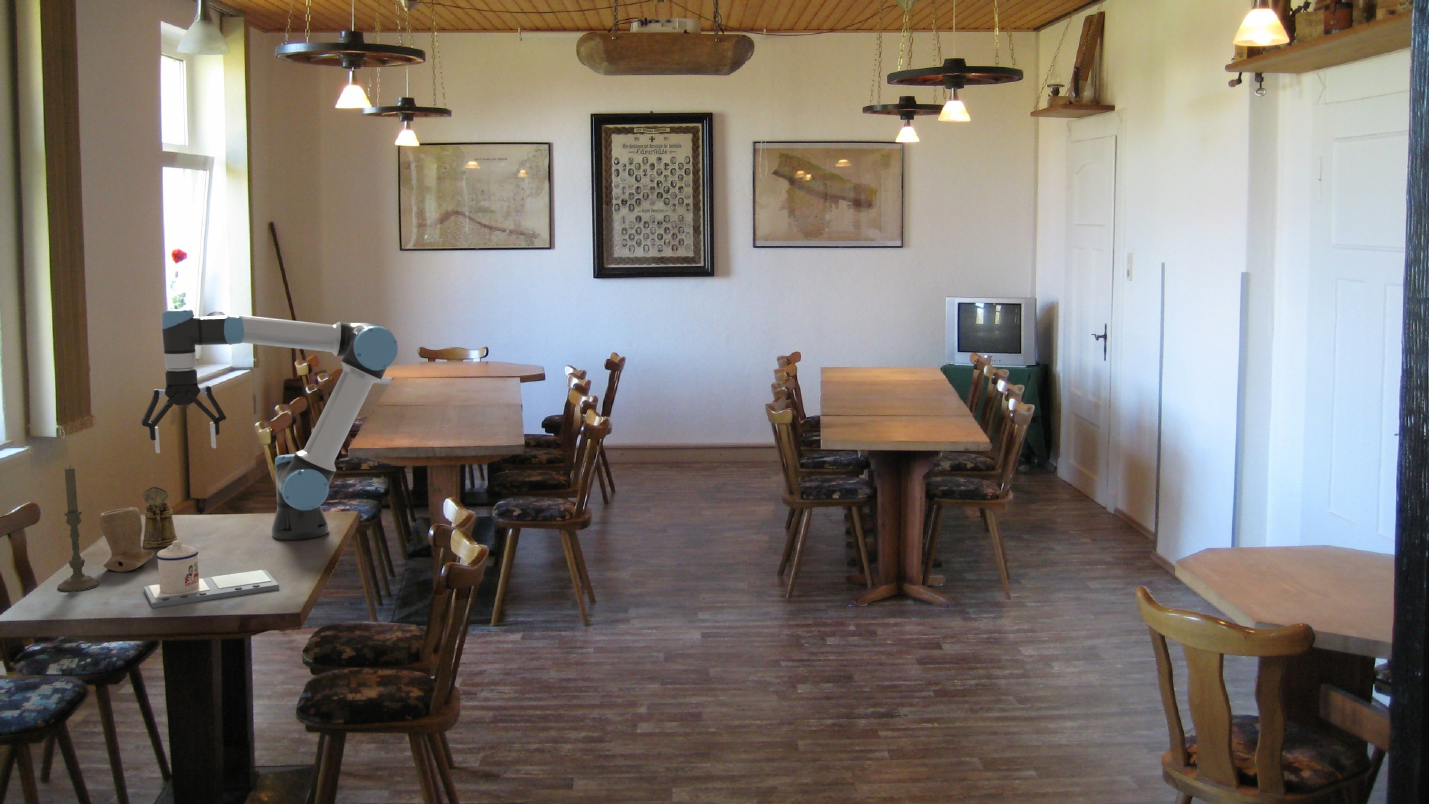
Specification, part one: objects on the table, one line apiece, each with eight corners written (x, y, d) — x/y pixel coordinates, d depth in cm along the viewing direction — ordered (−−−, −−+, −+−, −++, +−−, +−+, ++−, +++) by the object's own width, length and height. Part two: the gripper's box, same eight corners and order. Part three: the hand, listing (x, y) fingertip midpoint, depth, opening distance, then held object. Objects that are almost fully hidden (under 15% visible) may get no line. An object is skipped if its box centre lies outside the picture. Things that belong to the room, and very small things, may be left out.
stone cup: (113, 558, 324) (109, 502, 322) (160, 557, 325) (156, 501, 323) (90, 574, 309) (86, 516, 307) (140, 573, 310) (135, 515, 308)
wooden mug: (139, 554, 328) (135, 488, 325) (143, 542, 341) (139, 478, 338) (176, 551, 331) (171, 485, 328) (178, 539, 344) (174, 476, 341)
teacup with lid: (193, 594, 288) (190, 545, 286) (152, 595, 287) (149, 546, 286) (209, 579, 300) (206, 532, 298) (170, 580, 299) (167, 533, 297)
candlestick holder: (102, 587, 298) (93, 466, 294) (60, 594, 293) (50, 470, 288) (96, 578, 305) (87, 460, 301) (54, 585, 300) (45, 464, 296)
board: (265, 574, 309) (265, 568, 309) (279, 589, 297) (278, 583, 296) (144, 591, 295) (143, 585, 295) (152, 608, 282) (152, 602, 282)
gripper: (229, 364, 328) (233, 443, 331) (126, 370, 315) (131, 452, 318) (234, 367, 321) (239, 447, 324) (129, 373, 309) (135, 456, 312)
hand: (186, 450), depth 321 cm, fingers open, 13 cm apart
